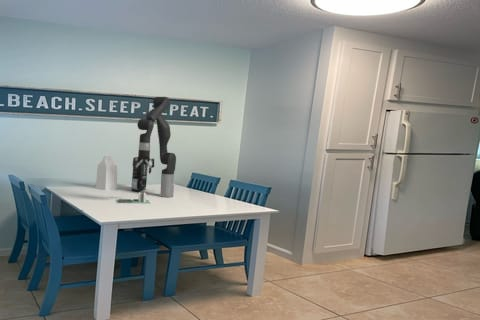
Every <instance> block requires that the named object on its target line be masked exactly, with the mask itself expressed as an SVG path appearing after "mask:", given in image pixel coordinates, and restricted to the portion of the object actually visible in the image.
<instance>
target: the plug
mask: <svg viewBox="0 0 480 320" xmlns="http://www.w3.org/2000/svg"><path fill="white" fill-rule="evenodd" d="M146 197H147V194H146V192H145V191H144V192H143V191H142V192H141V191H139V192H138V201H139V202H146V200H147V198H146Z"/></svg>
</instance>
